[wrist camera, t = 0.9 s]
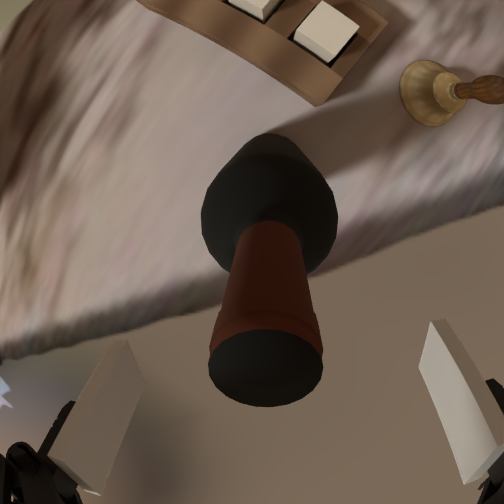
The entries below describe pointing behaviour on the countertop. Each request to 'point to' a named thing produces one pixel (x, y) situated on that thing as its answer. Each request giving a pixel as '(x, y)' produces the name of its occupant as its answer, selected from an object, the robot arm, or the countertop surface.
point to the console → (278, 39)
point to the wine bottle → (268, 271)
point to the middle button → (256, 8)
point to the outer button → (324, 32)
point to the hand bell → (443, 92)
